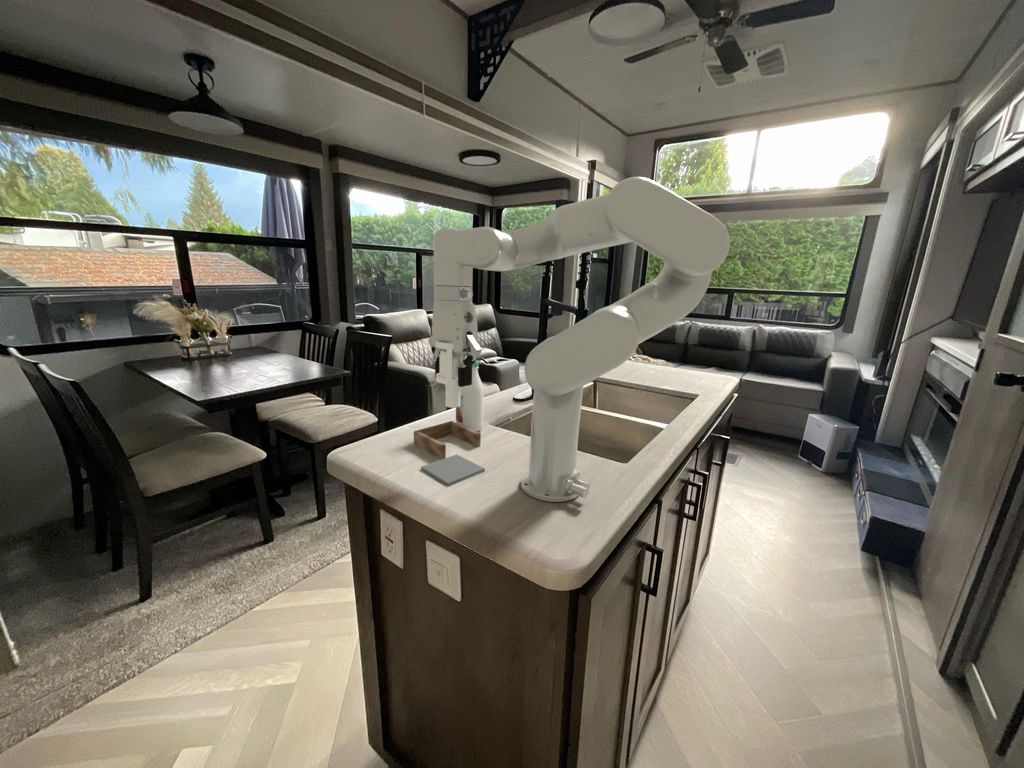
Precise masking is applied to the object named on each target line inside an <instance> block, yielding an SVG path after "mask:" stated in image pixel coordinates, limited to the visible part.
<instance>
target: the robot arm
mask: <svg viewBox="0 0 1024 768" xmlns="http://www.w3.org/2000/svg"><path fill="white" fill-rule="evenodd" d="M632 242H633V243H634V244H635V245H637V246H639V247H640V248H641V249H642V250H645V251H647V252H648V253H649V254H651V255H653V256H654V257H655V258H658V260H661V261H663V262H664V263H663V267H662V269H661V271H660V273H659V274H658V275H657V276H656V277H655V278H653V279H652V280H651V281H649V282H648V283H646V284H644V285H641V287H639V288H638V289H636V290H635V291H633V292H631V293H630V294H628V295H626V296H625V297H623V298H621V299H619V300H617V301H615V302H613V303H612V304H610V305H607V306H604V307H602V308H599V309H597V310H596V311H594V312H593V313H591V314H589V315H588V316H587V317H585V318H583V319H580V321H578V322H576V323H574V324H573V325H571V326H570V327H568V328H566V329H564V330H563V331H561V332H559V333H558V334H556V335H553V336H549V337H548V338H546V339H544V340H543V341H541V343H539V344H538V345H536V346H535V347H534V348H533V349H532V350H531V351H530V352H529V354H528V355H527V357H526V359H525V362H524V377H525V380H526V382H527V384H528V386H529V387H530V388H531V389H532V390H533V397H532V413H531V425H530V426H531V427H530V445H529V446H530V448H529V464H528V472H527V471H526V473H524V474H523V475H522V477H521V479H520V486H521V489H522V491H523V492H524V493H526V495H528V496H529V497H531V498H533V499H536V500H540V501H543V502H548V503H552V502H553V503H561V502H567V501H571V500H573V499H576V498H577V497H581V498H583V499H586V498H587V497H588V495H589V492H590V491H589V489H590V487H591V483H590V482H587V481H586V480H585V481H584V480H581V478H580V476H581V470H578V469H576V467H577V456H578V444H579V432H580V422H581V414H582V411H581V410H582V401H583V392H584V385H587V384H588V383H590V382H592V381H594V380H596V379H598V378H600V377H602V376H604V375H605V374H607V373H609V372H611V371H613V370H615V369H616V368H618V367H621V365H623V364H624V363H626V362H627V361H629V359H630V358H631V357H632V356H633V355H634V353H635V352H636V350H637V348H638V346H639V345H640V344H641V343H643V342H645V341H646V340H649V339H650V338H652V337H654V336H656V335H658V334H659V333H662V332H663V331H664V330H665V329H667V328H670V327H671V326H673V325H675V324H676V323H678V322H679V321H681V320H683V319H684V318H685V317H686V316H688V315H689V314H690V313H691V312H692V311H694V309H696V308H697V306H698V305H699V303H700V302H701V300H702V299H703V297H705V294H706V292H707V289H708V288H709V285H710V284H711V283H710V282H711V280H712V275H713V272H714V271H715V270H716V269H718V268H719V267H721V265H722V264H723V263H724V262H725V260H726V258H727V256H728V255H729V252H730V245H731V238H730V234H729V231H728V229H727V227H726V226H725V225H724V224H723V223H722V222H721V220H719V219H718V218H717V217H715V216H714V215H713V214H711V213H709V212H708V211H706V210H704V209H702V208H700V207H699V206H697V205H695V204H693V203H692V202H690V201H688V200H687V199H685V198H683V197H681V196H680V195H678V194H676V193H674V192H673V191H672V190H670V189H668V188H667V187H665V186H663V185H661V183H660V184H659V182H656V181H654V180H652V179H650V178H647V177H643V176H630V177H627V178H624V179H623V180H620V181H619V182H618V183H617V184H615V186H613V187H612V189H610V192H609V193H605V194H602V195H599V196H594V197H592V198H591V197H590V198H587V199H584V200H581V201H575V202H573V203H568V204H564V205H561V206H559V207H556V208H555V209H553V210H552V211H551V212H550V213H549V214H548V215H547V217H545V218H544V219H542V220H541V221H539V222H537V223H534V224H532V225H528V226H526V227H522V228H518V229H514V230H509V231H504V232H503V231H502V230H500V229H496V228H493V227H491V226H490V227H489V226H480V227H473V228H467V229H461V228H439V229H437V230H436V231H435V233H434V235H433V297H434V298H433V301H434V302H433V308H432V309H433V311H432V317H431V320H432V321H431V335H430V337H429V338H428V339H427V342H428V345H429V347H430V348H431V353H432V354H433V357H432V359H433V360H434V378H435V379H436V374H438V373H440V351H446V352H447V349H443V348H438V347H436V340H438V341H439V342H443V343H452V344H453V348H454V349H452V352H453V353H454V354H457V356H458V360H459V363H460V366H461V367H458V386H459V387H463V386H468V385H471V384H472V366H474V363H475V362H476V360H478V358H479V356H480V355H481V353H482V348H481V347H480V345H479V333H478V332H479V331H478V317H477V311H476V306H475V303H473V296H474V293H473V276H474V275H473V273H474V272H473V270H474V269H476V270H477V269H478V270H483V271H492V272H493V271H494V272H506V271H512V270H516V269H521V268H526V267H529V266H534V265H537V264H542V263H546V262H549V261H554V260H561V259H564V258H567V257H571V256H576V255H579V254H584V253H587V252H592V251H596V250H601V249H606V248H610V247H615V246H620V245H625V244H629V243H632ZM466 343H467V344H468V348H465V349H463V347H465V344H466ZM463 350H465V351H463ZM465 356H466V357H467V358H466V359H465V360H464V357H465Z"/></svg>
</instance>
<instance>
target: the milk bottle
mask: <svg viewBox="0 0 1024 768" xmlns="http://www.w3.org/2000/svg"><path fill="white" fill-rule="evenodd" d="M479 364H480V363H479V360H478V359H477V360H476V362H475V363H474V366H472V384H471V385H468V386H463V387H460V406H459V407H455V423H457V424H460V425H462V426H464V427H467V428H469V429H472V430H474V431H476V432H481V431H482V429H483V428H484V398H485V397H484V385H483V382H482V380H481V377H480V375H479V368H480V367H479Z"/></svg>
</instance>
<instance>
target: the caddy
mask: <svg viewBox="0 0 1024 768" xmlns="http://www.w3.org/2000/svg"><path fill="white" fill-rule="evenodd" d="M448 436H453V437H455V438H457V439H459V440H461V441H463V442H465V443H468V444H469V445H472V446H474V447H476V448H479V447H481V441H482V440H481V438H482V437H481V436H482V435H481V432H480V431H478V432H476V431H474V430H472V429H469V428H467V427H464V426H462V425H460V424H457V423H456V421H452V420H451V421H447V422H443V423H439V424H436V425H431V426H428V427H424V428H422V429H417V430H413V445H415V446H417V447H419V448H420V449H421V450H424V451H426V452H427V453H429V454H431V455H434V456H435V457H437V458H439V459H440V460H442V459H445V458H447V456H446V453H447V451H446V450H447V449H446V448H447V447H446V444H445V443H444V442H441V441H439V440H438V439H442V438H444V437H445V438H446V437H448Z"/></svg>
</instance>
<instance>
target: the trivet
mask: <svg viewBox="0 0 1024 768" xmlns="http://www.w3.org/2000/svg"><path fill="white" fill-rule="evenodd" d="M420 470H421V471H423V472H425V473H426V474H428V475H430V476H431V477H433V478H435V479H437V480H438V481H439V482H442V483H443V484H445V485H446V486H448V487H450V486H451V485H454V484H456V483H459V482H462V481H464V480H466V479H467V480H468V478H471V477H473V476H476V475H478V474H481V473H483V472H485V471H486V469H485V468H484V467H482V466H481V465H478V464H477V463H474V462H473V461H470V460H469V459H467V458H466V457H463V456H461V455H459V454H454V455H451V456H447V457H446V458H445V459H440V460H439V459H438V460H437V461H434V462H430V463H428V464H425V465H422V466H420Z"/></svg>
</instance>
